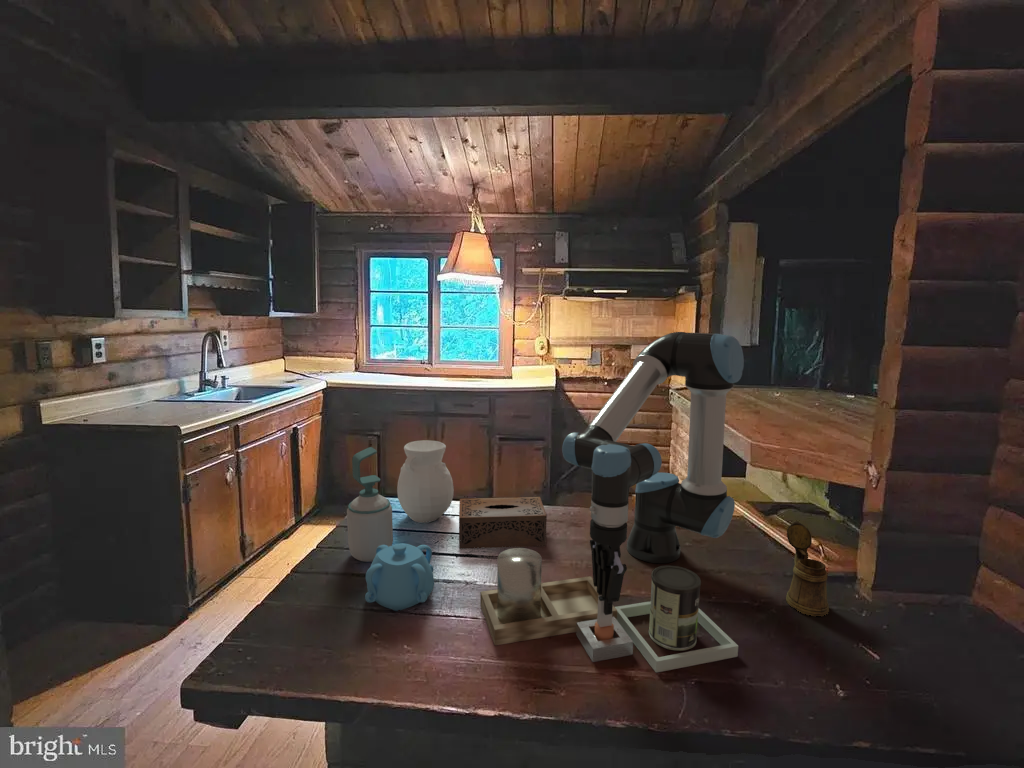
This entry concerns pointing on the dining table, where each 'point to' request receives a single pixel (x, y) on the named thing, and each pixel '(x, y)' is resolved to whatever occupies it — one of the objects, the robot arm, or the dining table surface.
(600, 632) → the button
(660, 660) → the white square frame
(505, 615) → the grey rounded cylinder piece
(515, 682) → the dining table surface
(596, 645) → the button housing
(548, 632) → the divided wooden tray
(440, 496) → the white vase
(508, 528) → the tissue box cover
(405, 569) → the decorative pot
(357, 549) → the soap bottle
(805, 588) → the wooden mug
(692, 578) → the coffee can
